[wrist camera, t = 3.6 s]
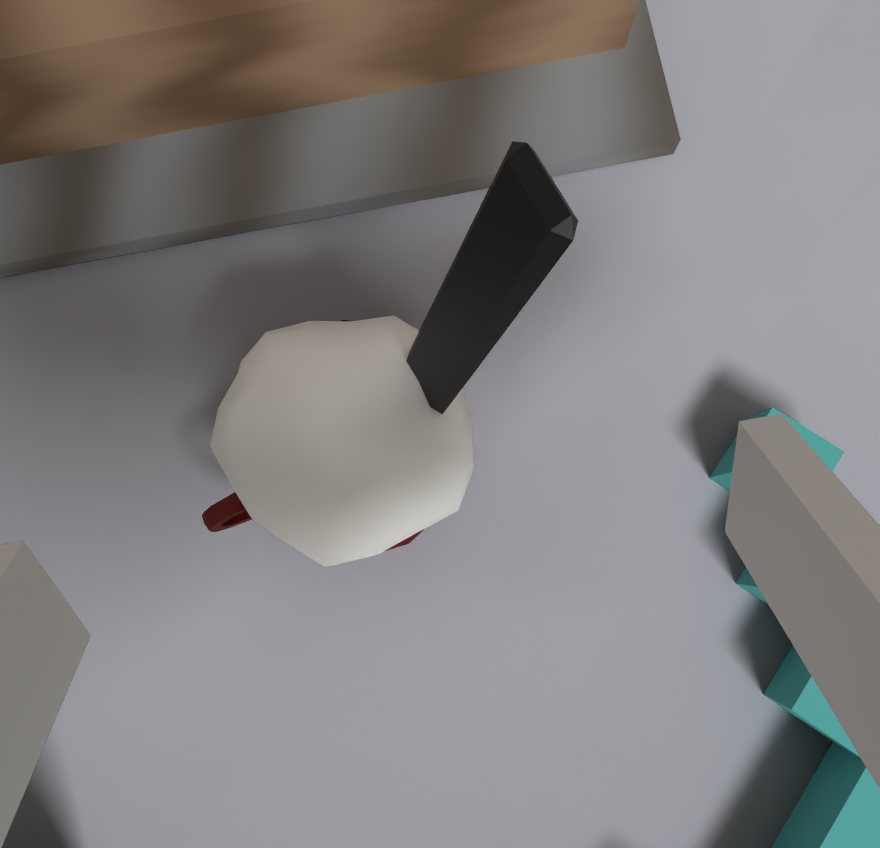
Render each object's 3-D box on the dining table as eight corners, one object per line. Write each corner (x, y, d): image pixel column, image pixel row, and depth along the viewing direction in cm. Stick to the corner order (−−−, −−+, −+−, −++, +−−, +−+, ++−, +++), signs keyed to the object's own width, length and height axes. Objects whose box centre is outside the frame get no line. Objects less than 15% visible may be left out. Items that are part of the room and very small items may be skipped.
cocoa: (249, 564, 21) (-77, 641, 9) (234, 367, 22) (-83, 203, 10) (555, 530, 20) (633, 567, 8) (528, 328, 21) (565, 102, 9)
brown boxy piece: (-100, 295, 23) (-261, 229, 18) (-112, -15, 25) (-259, -153, 20) (673, 153, 22) (731, 44, 17) (596, -152, 24) (628, -329, 19)
